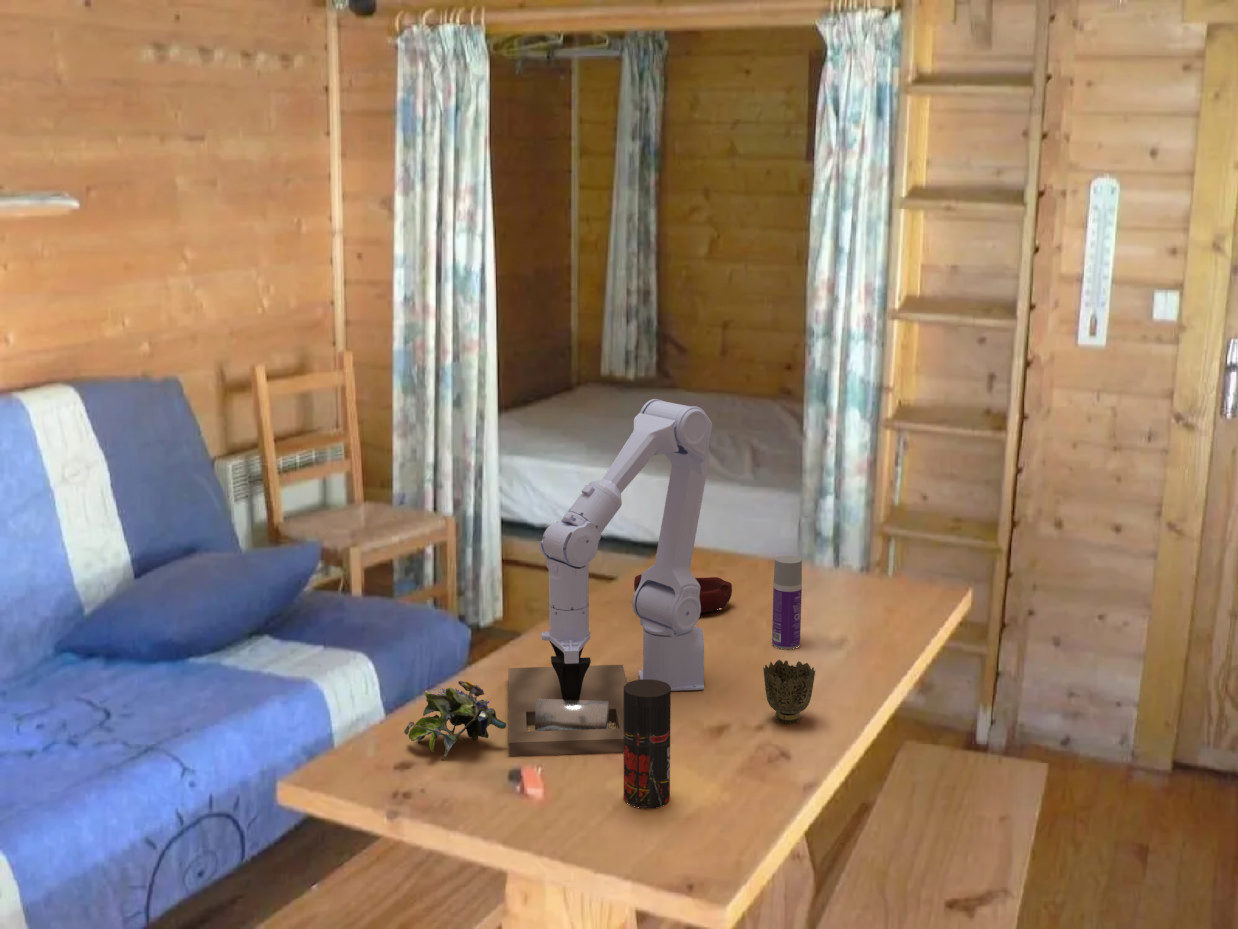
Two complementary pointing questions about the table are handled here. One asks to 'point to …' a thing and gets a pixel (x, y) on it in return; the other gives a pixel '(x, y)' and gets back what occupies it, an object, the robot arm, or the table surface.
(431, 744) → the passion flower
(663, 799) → the deodorant
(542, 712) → the roller
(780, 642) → the container
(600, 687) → the grey brown board
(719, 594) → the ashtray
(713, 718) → the table surface
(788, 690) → the cup
